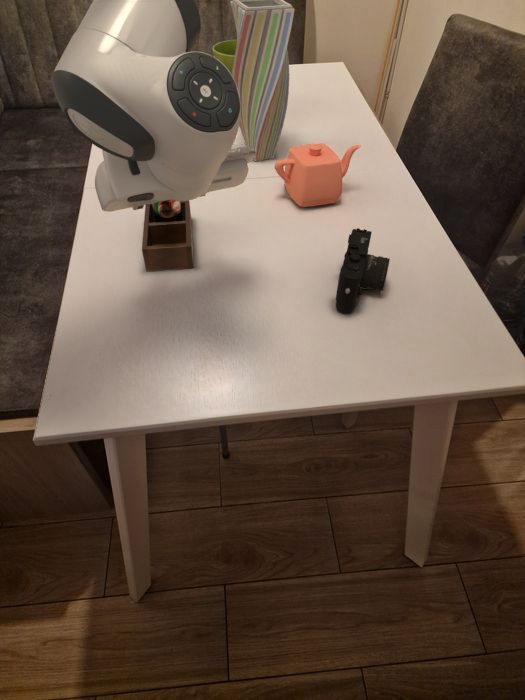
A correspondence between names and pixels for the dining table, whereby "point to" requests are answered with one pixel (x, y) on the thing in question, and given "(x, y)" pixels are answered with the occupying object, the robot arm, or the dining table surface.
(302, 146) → the teapot
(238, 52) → the vase
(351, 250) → the camera
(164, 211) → the soda can
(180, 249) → the caddy
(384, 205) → the dining table surface
